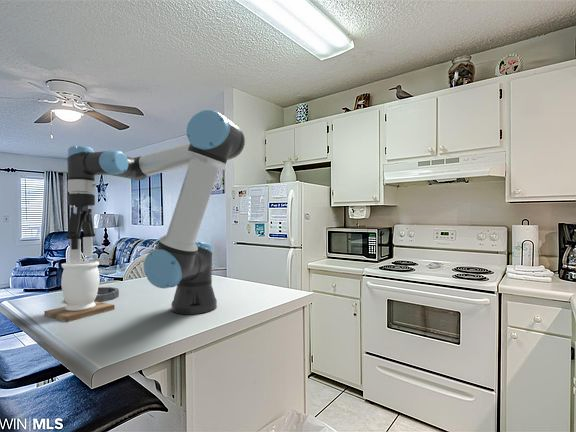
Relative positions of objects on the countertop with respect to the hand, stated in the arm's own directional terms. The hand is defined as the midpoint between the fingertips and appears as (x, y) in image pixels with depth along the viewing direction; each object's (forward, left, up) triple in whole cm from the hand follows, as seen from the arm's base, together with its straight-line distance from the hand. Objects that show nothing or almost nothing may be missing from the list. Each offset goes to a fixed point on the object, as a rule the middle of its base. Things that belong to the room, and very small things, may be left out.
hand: (82, 257), depth 106 cm
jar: (0, 0, -17) cm, 17 cm away
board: (0, 0, -18) cm, 18 cm away
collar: (+15, -14, -18) cm, 28 cm away
